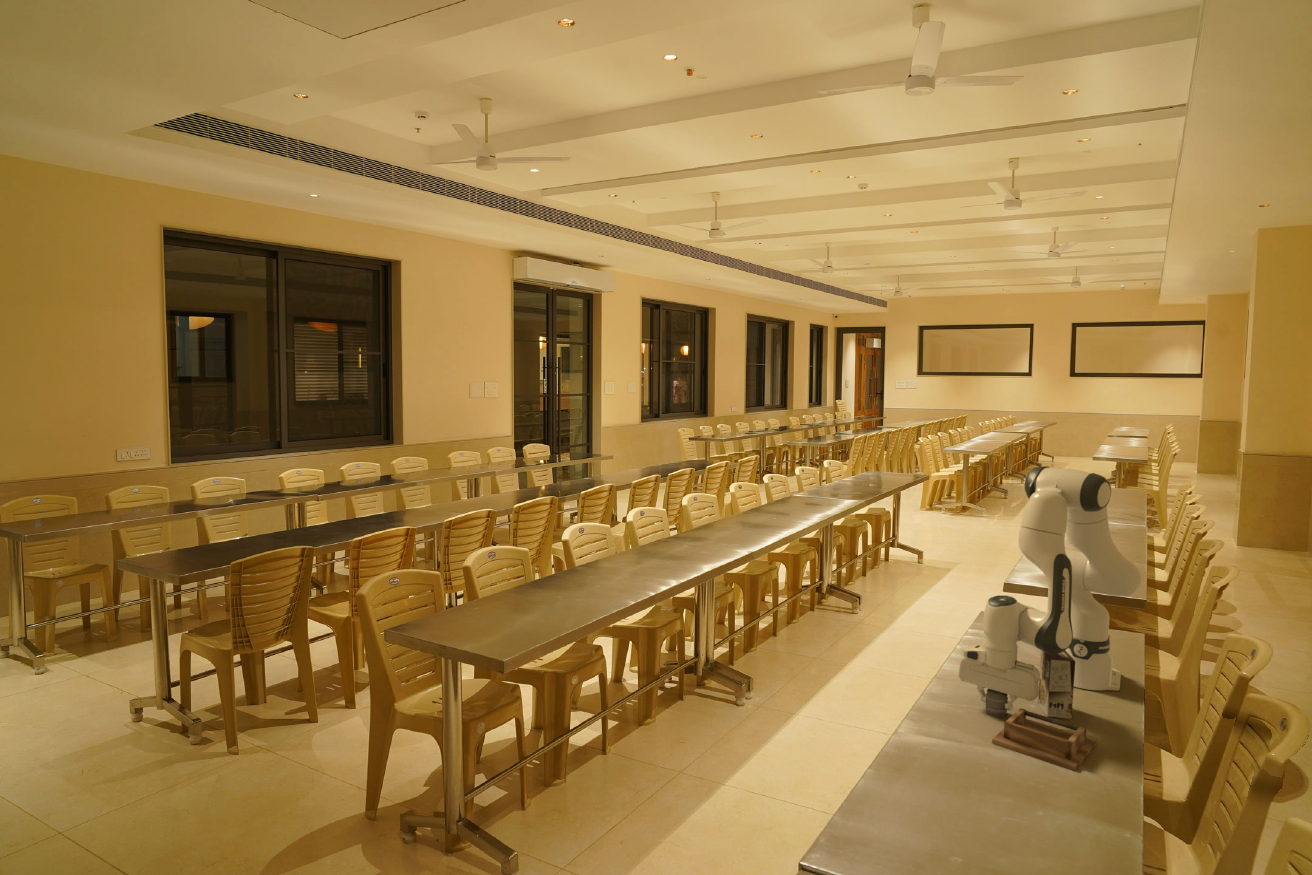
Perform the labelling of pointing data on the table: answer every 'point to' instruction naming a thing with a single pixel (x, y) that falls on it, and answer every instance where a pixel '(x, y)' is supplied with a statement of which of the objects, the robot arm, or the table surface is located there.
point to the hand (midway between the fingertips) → (996, 705)
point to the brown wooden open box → (1045, 739)
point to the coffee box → (1056, 684)
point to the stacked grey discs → (996, 703)
